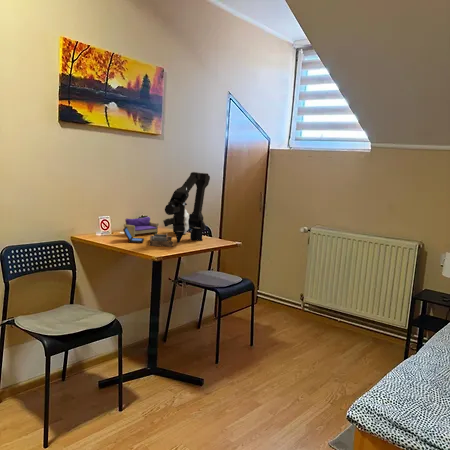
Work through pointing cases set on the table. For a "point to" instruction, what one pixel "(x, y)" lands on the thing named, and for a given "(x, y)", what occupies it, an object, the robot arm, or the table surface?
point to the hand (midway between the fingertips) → (177, 241)
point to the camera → (186, 221)
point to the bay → (161, 242)
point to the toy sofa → (141, 226)
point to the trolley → (160, 237)
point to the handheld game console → (130, 238)
